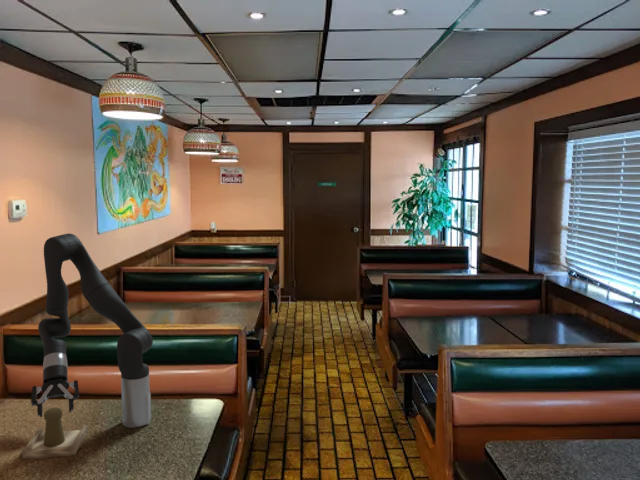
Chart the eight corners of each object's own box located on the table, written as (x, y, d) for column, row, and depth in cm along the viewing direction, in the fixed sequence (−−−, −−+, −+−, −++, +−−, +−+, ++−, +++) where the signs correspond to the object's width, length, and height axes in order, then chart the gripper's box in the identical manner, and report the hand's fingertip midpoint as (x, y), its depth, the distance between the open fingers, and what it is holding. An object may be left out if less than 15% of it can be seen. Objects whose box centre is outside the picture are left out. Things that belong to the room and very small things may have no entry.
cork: (68, 437, 162) (67, 405, 160) (57, 447, 156) (56, 414, 154) (51, 436, 162) (50, 404, 161) (39, 446, 156) (37, 413, 155)
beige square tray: (87, 431, 168) (87, 424, 167) (75, 455, 153) (74, 447, 153) (39, 435, 165) (39, 428, 164) (21, 459, 150) (21, 451, 150)
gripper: (31, 367, 167) (30, 413, 158) (77, 361, 173) (79, 405, 164) (32, 376, 172) (32, 422, 163) (78, 370, 179) (79, 414, 170)
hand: (55, 413), depth 164 cm, fingers open, 8 cm apart
